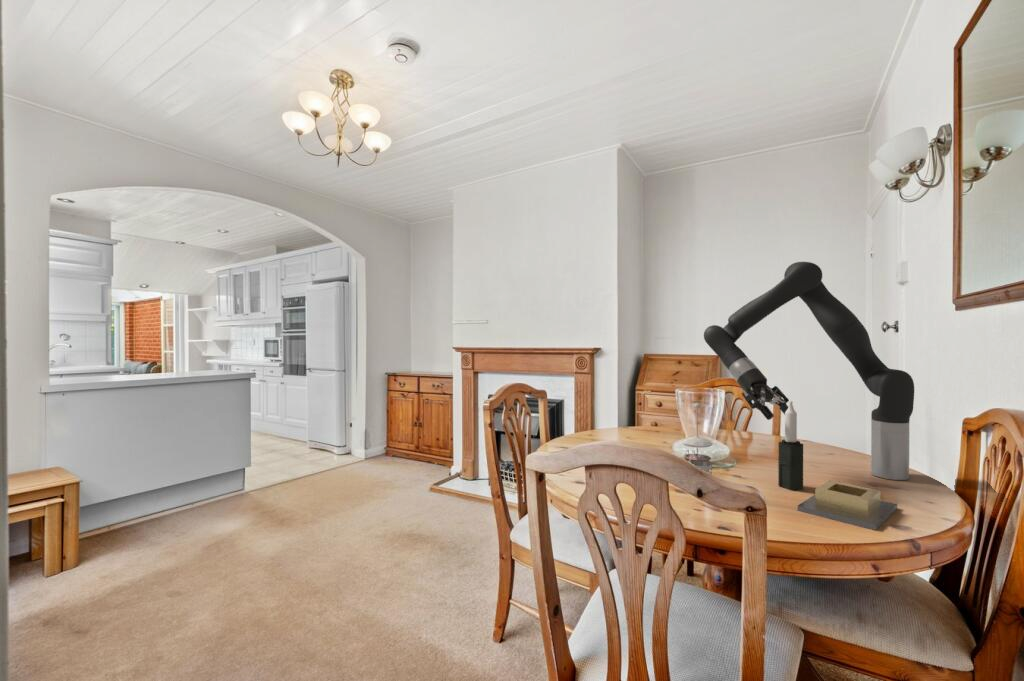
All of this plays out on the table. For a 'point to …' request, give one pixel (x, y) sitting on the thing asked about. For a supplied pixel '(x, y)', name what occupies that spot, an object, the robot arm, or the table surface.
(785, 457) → the candle
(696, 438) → the french press
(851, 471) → the table surface
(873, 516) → the candle plate
